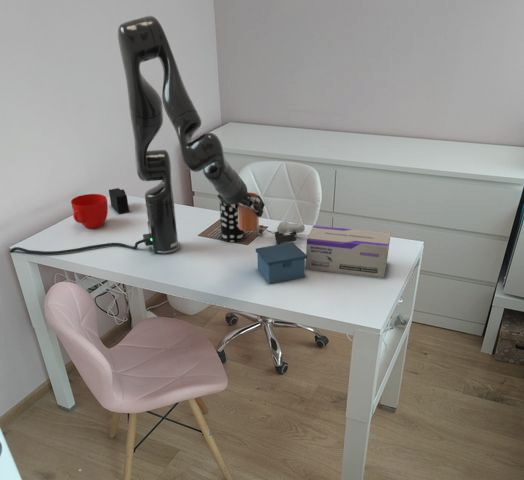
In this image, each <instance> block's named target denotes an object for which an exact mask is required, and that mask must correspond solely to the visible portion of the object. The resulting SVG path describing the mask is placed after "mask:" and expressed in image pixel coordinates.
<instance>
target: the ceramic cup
mask: <svg viewBox="0 0 524 480" xmlns="http://www.w3.org/2000/svg"><path fill="white" fill-rule="evenodd" d="M70 204H71V208H72V210H73V214H72V216H73V219H74V221H75V222H76V223H78V224H82V225H83V226H84V227H85V228H86V229H97V228H100V227H102V226H103V225H104V224H105V221H106V220H107V217H108V214H109V213H108V212H109V206H108V205H109V204H108V199H107V196H106V195H104V194H100V193H88V194H86V193H85V194H81V195H78V196H76V197H74V198H72V199H71V201H70Z"/></svg>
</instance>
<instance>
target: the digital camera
mask: <svg viewBox="0 0 524 480" xmlns="http://www.w3.org/2000/svg"><path fill="white" fill-rule="evenodd" d="M108 195H109V199H110V200H109V202H110V205H111V207H112V209H114V211H116V212H117V213H118V214H119V215H120V214H121V215H122V214H125V213H129V212H130V208H129V202H128V195H127V194H126V191H125V189H124V188H123V189H120V188H119V187H117V188H111V189H108Z"/></svg>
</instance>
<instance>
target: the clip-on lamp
mask: <svg viewBox="0 0 524 480" xmlns="http://www.w3.org/2000/svg"><path fill="white" fill-rule="evenodd" d="M305 229H306V226H305V224H304V223H302V222H295V223H294V222H292V223H290V222H288V221H284V220H283V221H281V222H279V223H278V225H277V227H276V230H277V231H275V232H274V231H271V230H269V229H266V228H264V224H260V225H259V228H258V229H257V230H255V231H256V234H257V235H258V236H261V235H263V231H266V232H267V233H268V232H269V233H270V234H273V235H274V239H275V242H276V245H279V244H285V243H291V242H293V243H295V242H296V241H297V238H298V239H300V238H301V237H300V236H299V235H298V234H302V233H304V232H305Z"/></svg>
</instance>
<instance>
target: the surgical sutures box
mask: <svg viewBox="0 0 524 480" xmlns="http://www.w3.org/2000/svg"><path fill="white" fill-rule="evenodd" d="M390 243H391V232H385V231H384V232H383V231H374V230H363V229H354V228H345V227H334V226H325V225H313V226H312V227H311V229H310V232H309V233H308V235H307V236H306V250H305V251H306V252H305V254H306V255H307V259H305V270H312V271H319V272H329V273H335V274H343V275H353V276H361V277H369V278H377V279H378V278H379V279H384V278H385V274H386V269H387V263H388V258H389V249H390Z"/></svg>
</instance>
